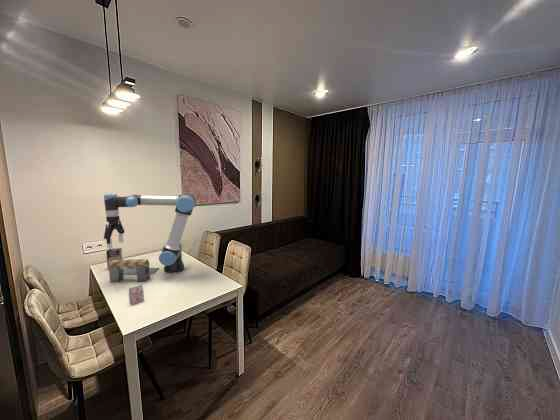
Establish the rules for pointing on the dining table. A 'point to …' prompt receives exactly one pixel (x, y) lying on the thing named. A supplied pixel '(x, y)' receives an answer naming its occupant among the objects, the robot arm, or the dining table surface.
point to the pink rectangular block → (136, 294)
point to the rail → (129, 263)
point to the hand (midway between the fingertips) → (115, 245)
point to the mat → (134, 271)
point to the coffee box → (114, 255)
